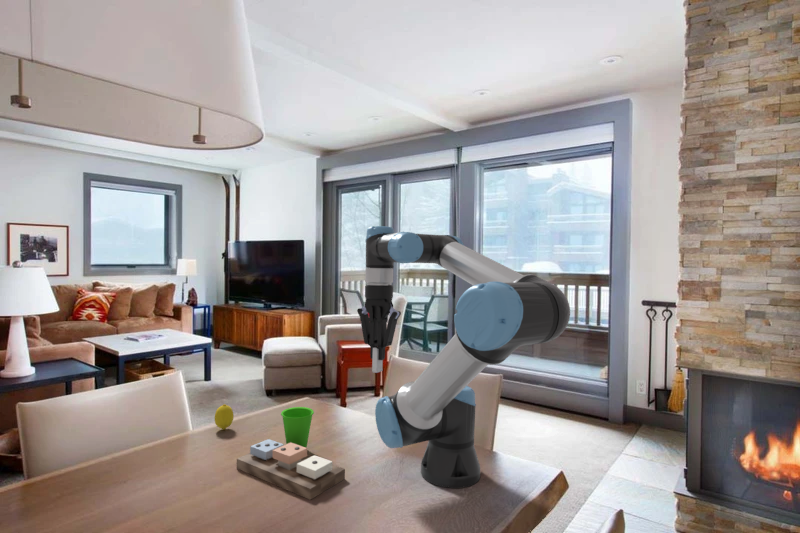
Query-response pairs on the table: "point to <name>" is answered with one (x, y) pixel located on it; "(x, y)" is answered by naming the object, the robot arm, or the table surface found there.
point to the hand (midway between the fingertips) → (377, 371)
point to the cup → (297, 425)
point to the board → (290, 476)
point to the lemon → (224, 416)
